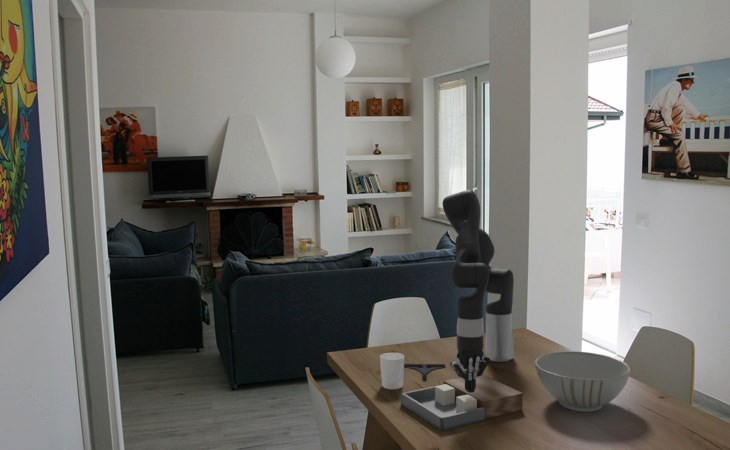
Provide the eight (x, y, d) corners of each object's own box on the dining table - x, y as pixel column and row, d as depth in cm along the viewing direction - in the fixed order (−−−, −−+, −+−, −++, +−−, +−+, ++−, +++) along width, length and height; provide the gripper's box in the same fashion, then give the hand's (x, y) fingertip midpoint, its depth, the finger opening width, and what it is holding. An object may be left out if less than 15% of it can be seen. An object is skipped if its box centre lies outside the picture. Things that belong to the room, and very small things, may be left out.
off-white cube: (468, 394, 189) (456, 396, 187) (476, 399, 184) (464, 401, 183) (468, 409, 189) (456, 411, 187) (476, 414, 185) (464, 417, 183)
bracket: (403, 381, 217) (403, 373, 217) (404, 367, 232) (404, 360, 231) (446, 382, 216) (446, 374, 215) (445, 368, 230) (445, 360, 230)
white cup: (407, 383, 214) (407, 353, 213) (400, 391, 206) (400, 360, 205) (384, 380, 216) (384, 351, 215) (377, 389, 209) (376, 358, 208)
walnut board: (480, 388, 207) (480, 373, 207) (522, 409, 190) (522, 393, 189) (443, 396, 201) (443, 380, 201) (483, 419, 183) (483, 401, 183)
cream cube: (445, 384, 197) (435, 386, 196) (454, 388, 194) (443, 390, 192) (446, 398, 198) (435, 400, 196) (454, 403, 194) (443, 405, 192)
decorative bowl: (581, 429, 176) (582, 385, 174) (515, 397, 199) (515, 359, 198) (650, 410, 188) (651, 369, 187) (580, 383, 211) (580, 346, 210)
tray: (441, 395, 202) (441, 385, 201) (484, 420, 183) (484, 408, 182) (401, 404, 195) (401, 393, 195) (441, 430, 176) (441, 418, 176)
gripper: (480, 326, 191) (480, 383, 193) (443, 332, 185) (443, 391, 187) (497, 332, 185) (496, 391, 186) (458, 338, 179) (458, 400, 180)
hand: (470, 391), depth 187 cm, fingers closed
